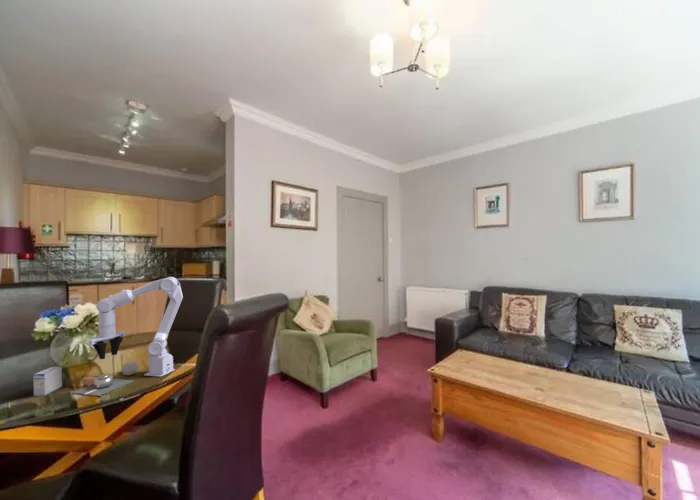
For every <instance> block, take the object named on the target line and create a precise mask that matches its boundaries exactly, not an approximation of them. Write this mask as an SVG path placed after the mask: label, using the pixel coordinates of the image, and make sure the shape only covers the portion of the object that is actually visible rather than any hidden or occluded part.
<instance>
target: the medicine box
mask: <svg viewBox="0 0 700 500" xmlns="http://www.w3.org/2000/svg"><path fill="white" fill-rule="evenodd" d="M62 368H63V367H61V366H50V367H48V368H45V369H43V370H41V371H38V372H36V373H34V374H33V375H32V377H33V396H35V397H39V396H40V397H41V396H42V397H43V396H47V395H48V394H50V393H53V392H54V391H56V390H58V389H60V388H62V387H63V375H62V374H63V371H62Z"/></svg>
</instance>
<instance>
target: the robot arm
mask: <svg viewBox="0 0 700 500" xmlns="http://www.w3.org/2000/svg"><path fill="white" fill-rule="evenodd" d="M160 290H161V291H163V292H164V293H165V294H166V295H167V296H168V298H169V299H170V300H169V302H168V304H167V306H166V309H165V312H164V315H163V317H162V319H161V322H160V324H159V327H158V329H157V331H156V334H155V335H154V337H153V339H152V341H151V342H150V343H149V344H148V345H147V349H146V350H147V353H148V372H146V373H144V374H143V375H144V376H149V377H150V376H151V377H161V378H162V377H163V376H165V375H167V374H169V373H171V372H174V371H175V370H176V369H175V368H174V356H173V355H172V354H170V353H169V352H168V350H167V349H166V347H167V345H168V337H169V334H170V333H169V332H170V331H171V328H172V325H173V323H174V321H175V318H176V316H177V313H178V310H179V308H180V306H181V303H182V301H183V298H184V296H183V295H184V294H183V292H182V291H183V290H182V287H181V282H180V281H179V280H178V279H177V278H176V277H174V276H167V277H166V278H161V279H158V280H154V281H151V282H149V283H147V284H144V285H141V286H139V287H137V288H135V289H132V290H131V289H122V290H120V292H117V293H115V294H110V295H108V297H105V298H102V299H100V300H98V301H97V303H96V305H95V308H96V310H97V311H98V336H97V337H95V338H92V339H89V340H87V341H88V346H92V347H93V348H94V350H95V352H97V355H98V357H99V360H105V359H106V349H107V344H108V343H107V342H106V341H109V344H110V350H111V351H110V352H111V355H112V356H117V355H118V351H119V347H120V345H121V343H122V342H123V340H124V339H123V337H125V336H126V330H125V331H123V330H122V331H118V332H117V331H116V330H117V328H116V324H117V323H116V308H120V307H121V306H124V305H127V304H129V303H131V302H133V301H135V298H136V297H137V296H140V295H143V294H146V293H148V292H150V291H160Z"/></svg>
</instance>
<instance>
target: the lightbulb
mask: <svg viewBox="0 0 700 500" xmlns="http://www.w3.org/2000/svg"><path fill="white" fill-rule="evenodd" d="M138 370H139V364H138V363H137V362H136V361H134V360H130V361H127V362H125V363H124V364H123V365H122V368H121V372H122V374H123V375H124V376H132V375H134V374H136V372H137V371H138Z"/></svg>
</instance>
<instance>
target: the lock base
mask: <svg viewBox="0 0 700 500" xmlns="http://www.w3.org/2000/svg"><path fill="white" fill-rule="evenodd" d="M133 382H134V380H133V379H132V380H131V379H130V380H129V379H123V378H122V379H121V378H113V384H111V385H109V386H107V387H103V388H94V385H87V386H84V387H83V388H80V389H78V390H75V391H72V392H71V394H72V395H79V396H80V395H81V396H90V397H98V396H100V397H101V395H102V394H104V395H106V394H108V393H110V391H111V392H112V390H113V391H115V390H117V389H119V388H122V387H123V386H126V385H129V384H131V383H133ZM105 393H106V394H105ZM102 396H103V395H102Z"/></svg>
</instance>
